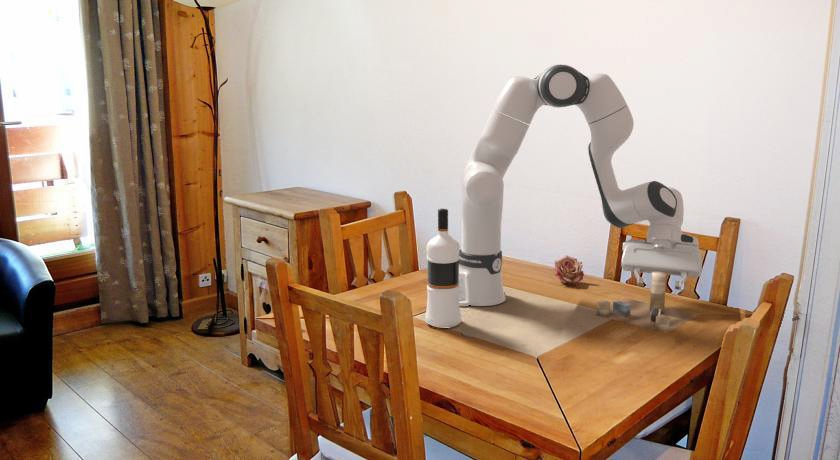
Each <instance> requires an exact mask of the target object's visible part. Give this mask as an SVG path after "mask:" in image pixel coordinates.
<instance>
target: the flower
mask: <svg viewBox="0 0 840 460" xmlns="http://www.w3.org/2000/svg"><path fill="white" fill-rule="evenodd" d="M582 269H583V261H579V260H578V259H577V258H575V257H574V256H569V255H564V256H562V257H561V258H559V259H557V260H555V261H554V270H555V276H556V277H557V279H559V280H560V282H561V284H560V286H562V285H563V284H567V283H571V284H572V285H575V286H577V284H578V282H581V281H583V280H584V276H585V275H584V273H585V272H584V270H582Z"/></svg>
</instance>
